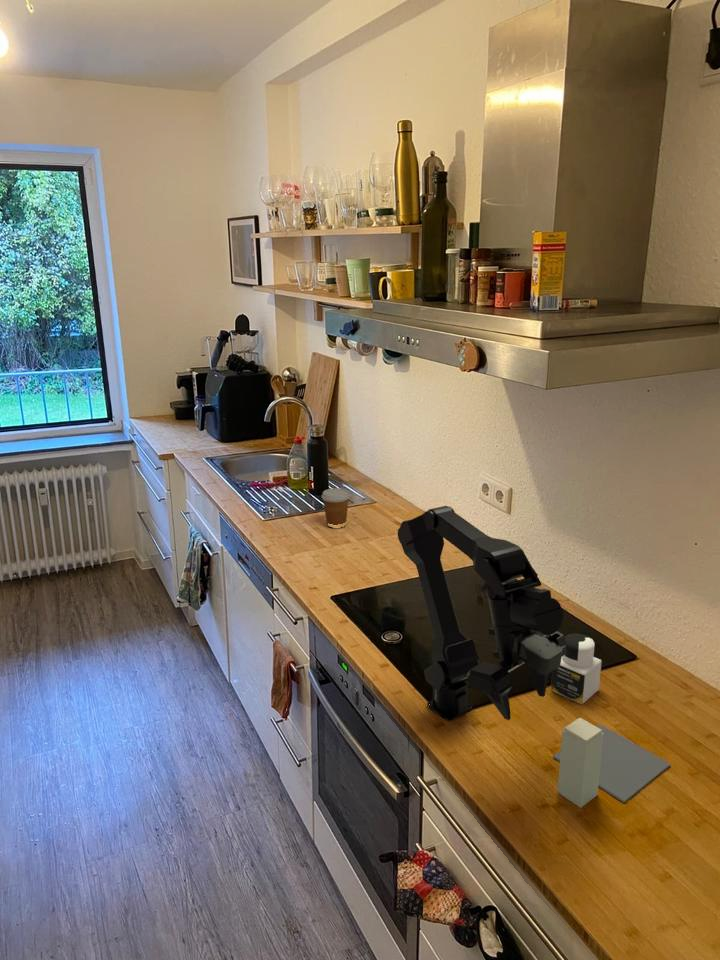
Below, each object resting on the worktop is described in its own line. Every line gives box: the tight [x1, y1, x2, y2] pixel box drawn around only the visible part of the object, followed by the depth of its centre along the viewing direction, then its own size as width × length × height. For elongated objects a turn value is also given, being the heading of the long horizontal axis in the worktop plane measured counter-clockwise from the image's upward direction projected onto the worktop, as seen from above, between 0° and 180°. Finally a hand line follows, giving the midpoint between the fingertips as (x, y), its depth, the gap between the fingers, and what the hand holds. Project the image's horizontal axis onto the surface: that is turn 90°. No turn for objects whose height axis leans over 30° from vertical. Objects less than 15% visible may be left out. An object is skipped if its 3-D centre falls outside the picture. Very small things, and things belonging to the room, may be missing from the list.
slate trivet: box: [552, 724, 671, 804], centre depth 121 cm, size 14×14×1 cm
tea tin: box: [557, 717, 604, 809], centre depth 112 cm, size 4×4×13 cm
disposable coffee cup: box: [321, 487, 351, 525], centre depth 234 cm, size 10×10×12 cm
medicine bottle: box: [550, 633, 603, 705], centre depth 140 cm, size 7×7×12 cm
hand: (525, 707), depth 118 cm, fingers open, 9 cm apart
